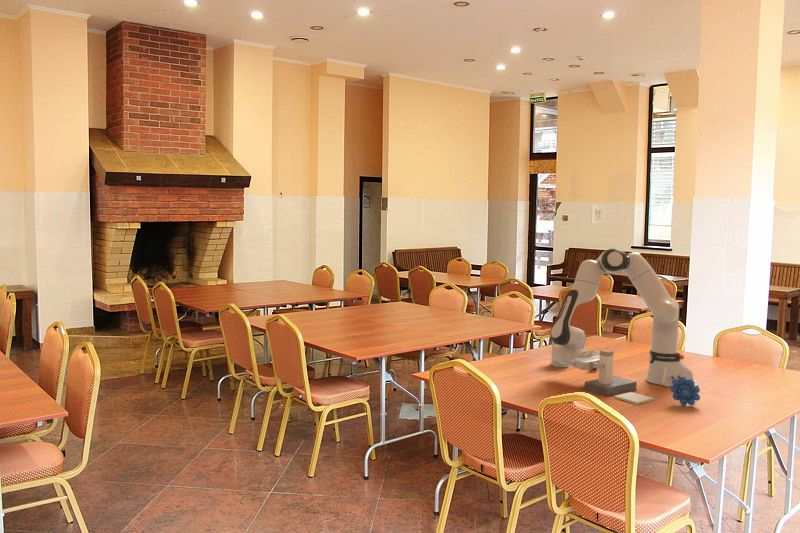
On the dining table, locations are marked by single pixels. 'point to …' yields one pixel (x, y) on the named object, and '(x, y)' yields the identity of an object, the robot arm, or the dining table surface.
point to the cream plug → (606, 367)
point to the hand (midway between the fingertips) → (607, 365)
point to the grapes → (685, 391)
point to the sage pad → (634, 398)
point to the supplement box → (555, 363)
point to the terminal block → (611, 386)
